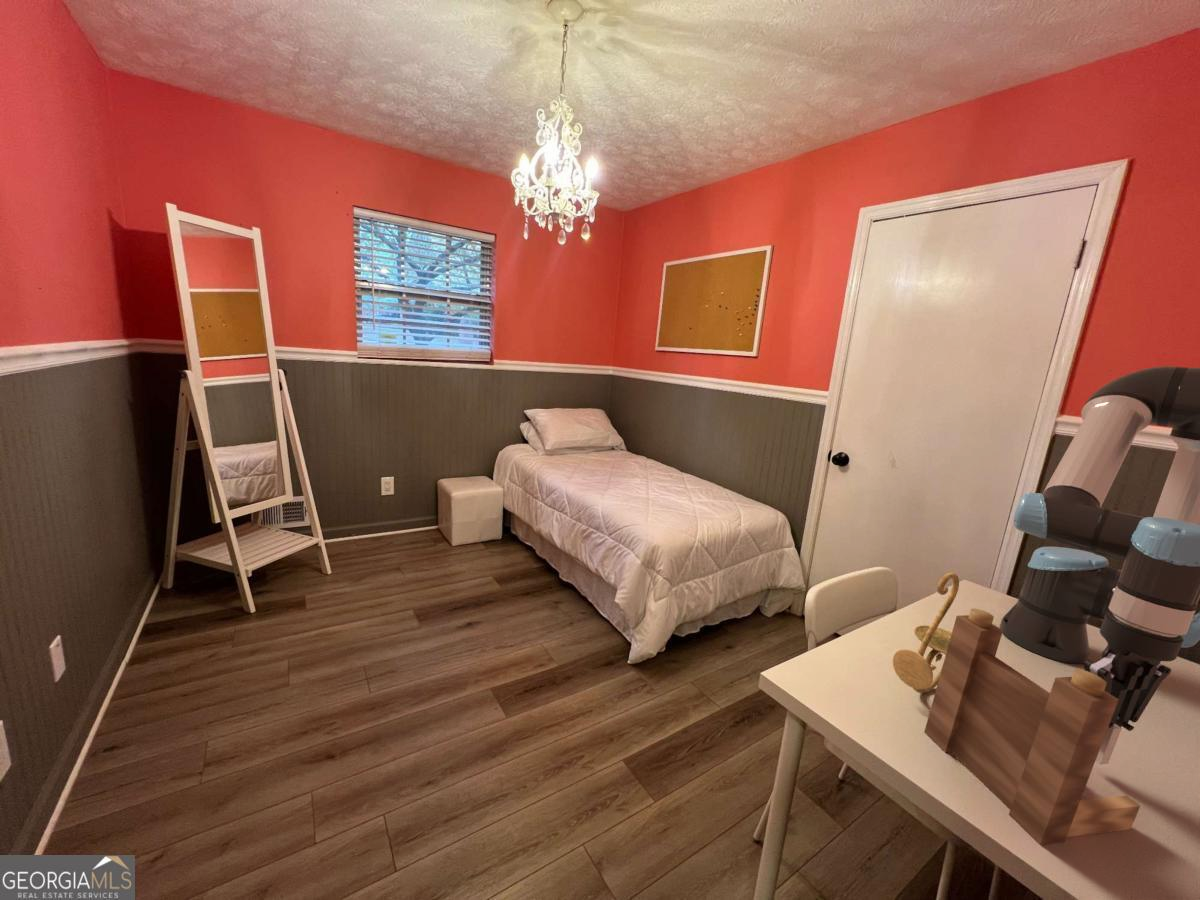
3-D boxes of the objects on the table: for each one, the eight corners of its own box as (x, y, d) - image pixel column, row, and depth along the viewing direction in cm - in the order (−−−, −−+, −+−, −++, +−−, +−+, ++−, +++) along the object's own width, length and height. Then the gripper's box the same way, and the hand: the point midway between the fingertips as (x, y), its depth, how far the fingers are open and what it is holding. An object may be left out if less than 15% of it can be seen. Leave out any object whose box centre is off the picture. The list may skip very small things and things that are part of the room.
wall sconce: (930, 721, 80) (966, 591, 74) (877, 684, 88) (906, 565, 82) (972, 699, 86) (1008, 578, 81) (919, 667, 94) (948, 555, 89)
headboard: (1002, 726, 80) (1041, 605, 75) (1135, 833, 62) (1197, 684, 57) (924, 732, 77) (959, 606, 72) (1040, 844, 60) (1096, 689, 55)
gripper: (1145, 607, 71) (1098, 734, 76) (1078, 609, 69) (1034, 738, 74) (1215, 637, 64) (1158, 775, 69) (1142, 640, 62) (1088, 781, 67)
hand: (1093, 756), depth 72 cm, fingers closed
